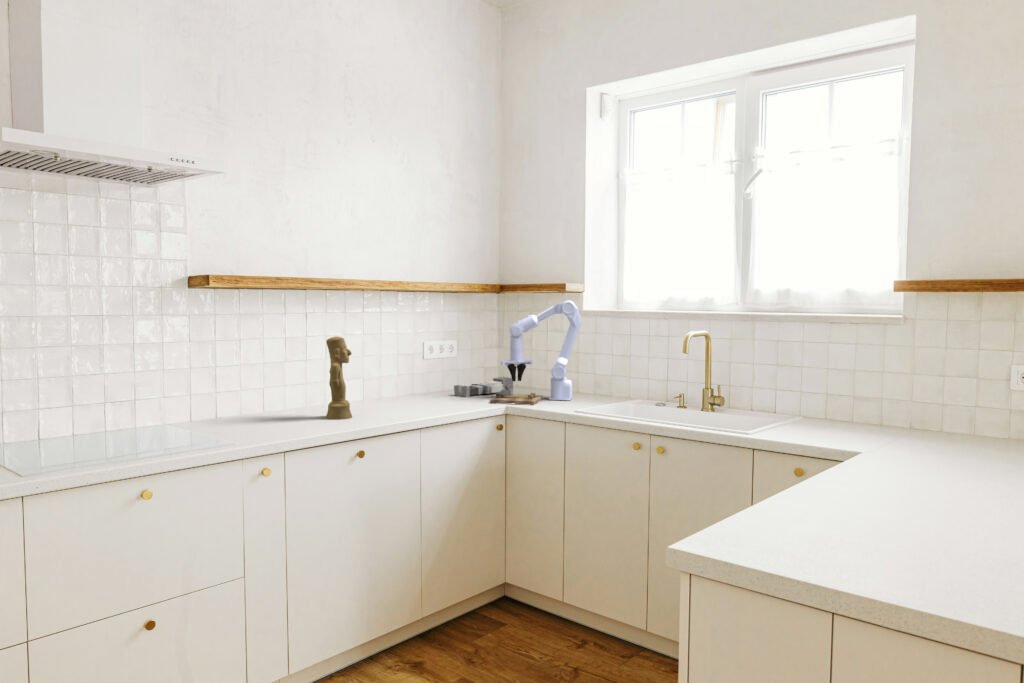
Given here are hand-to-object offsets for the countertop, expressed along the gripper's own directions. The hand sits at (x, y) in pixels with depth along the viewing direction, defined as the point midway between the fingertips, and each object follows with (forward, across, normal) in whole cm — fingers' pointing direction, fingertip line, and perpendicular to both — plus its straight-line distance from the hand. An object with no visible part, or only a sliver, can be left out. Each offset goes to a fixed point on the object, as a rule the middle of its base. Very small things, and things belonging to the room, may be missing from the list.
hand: (516, 381), depth 330 cm
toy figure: (+8, -7, +20) cm, 23 cm away
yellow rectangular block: (+6, -3, -9) cm, 11 cm away
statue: (+7, -84, -25) cm, 88 cm away
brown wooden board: (+8, -4, -8) cm, 12 cm away
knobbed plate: (+5, -7, -7) cm, 11 cm away
